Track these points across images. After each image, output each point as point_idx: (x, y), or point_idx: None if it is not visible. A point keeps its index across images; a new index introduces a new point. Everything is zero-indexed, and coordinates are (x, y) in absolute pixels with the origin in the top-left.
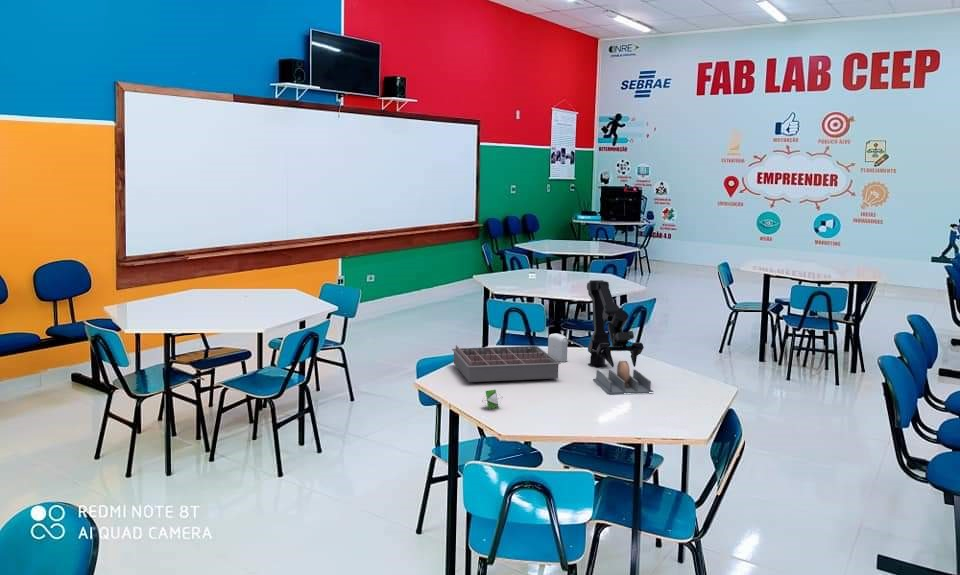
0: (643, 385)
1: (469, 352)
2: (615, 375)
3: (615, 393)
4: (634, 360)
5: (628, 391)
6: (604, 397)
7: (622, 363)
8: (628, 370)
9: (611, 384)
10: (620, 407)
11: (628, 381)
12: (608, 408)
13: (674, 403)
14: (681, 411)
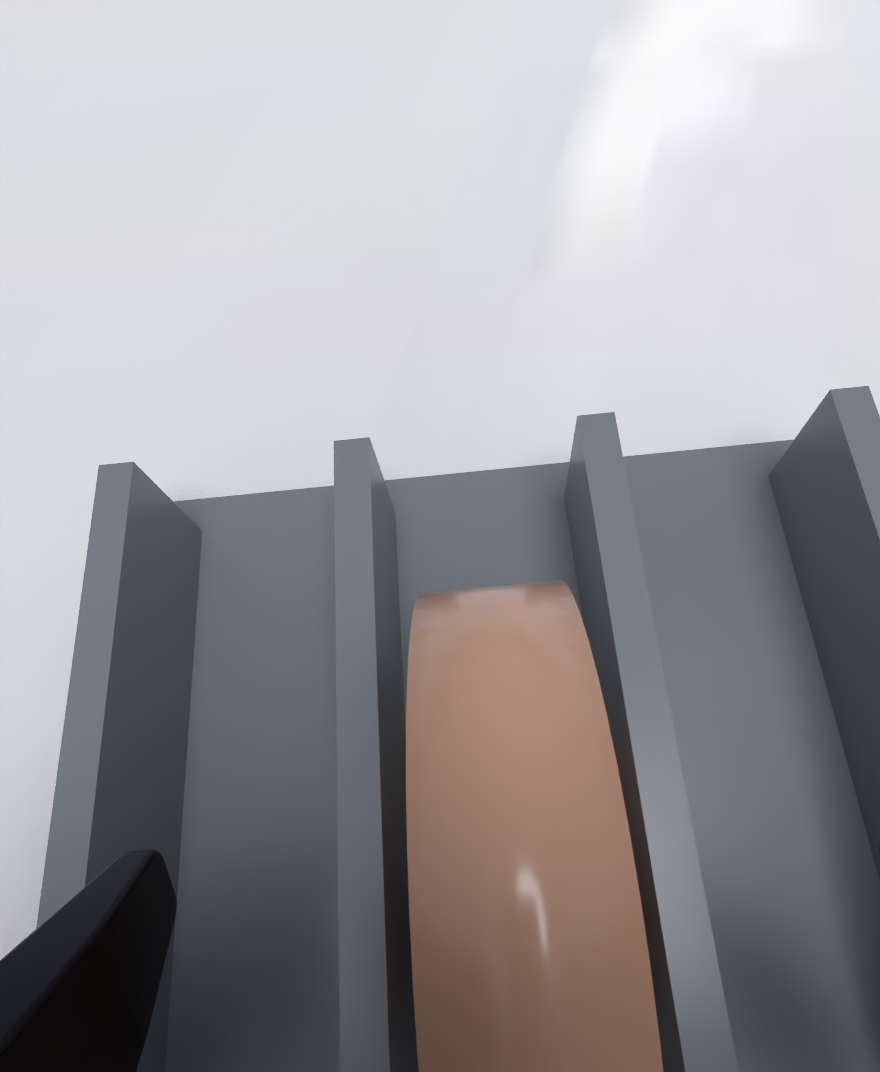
0: (177, 737)
1: None
2: (704, 891)
3: (706, 455)
4: (31, 990)
5: (506, 495)
6: (870, 337)
7: (609, 736)
8: (447, 591)
9: (821, 413)
10: (708, 63)
11: (401, 857)
12: (839, 31)
13: (101, 200)
14: (159, 28)
